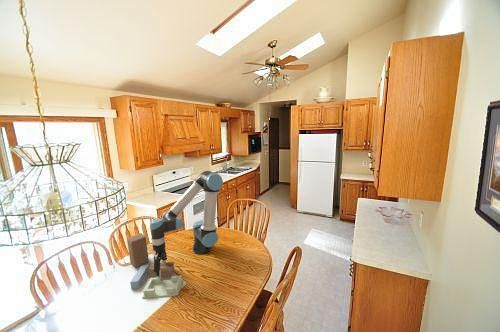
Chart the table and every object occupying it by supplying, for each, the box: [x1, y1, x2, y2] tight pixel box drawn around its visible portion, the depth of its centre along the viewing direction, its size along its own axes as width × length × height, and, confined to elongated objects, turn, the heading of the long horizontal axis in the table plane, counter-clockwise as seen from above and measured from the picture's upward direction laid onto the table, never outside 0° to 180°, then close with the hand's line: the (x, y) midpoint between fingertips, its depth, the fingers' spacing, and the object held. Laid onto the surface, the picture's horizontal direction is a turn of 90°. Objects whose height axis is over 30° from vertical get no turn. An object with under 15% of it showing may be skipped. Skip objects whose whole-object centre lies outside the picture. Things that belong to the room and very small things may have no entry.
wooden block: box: [126, 232, 150, 268], centre depth 151 cm, size 10×10×20 cm
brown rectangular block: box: [148, 261, 176, 279], centre depth 138 cm, size 6×14×7 cm, turn 94°
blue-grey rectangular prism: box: [129, 264, 150, 290], centre depth 135 cm, size 16×4×5 cm, turn 4°
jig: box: [141, 275, 184, 299], centre depth 126 cm, size 13×20×4 cm, turn 94°
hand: (161, 274), depth 138 cm, fingers open, 10 cm apart
